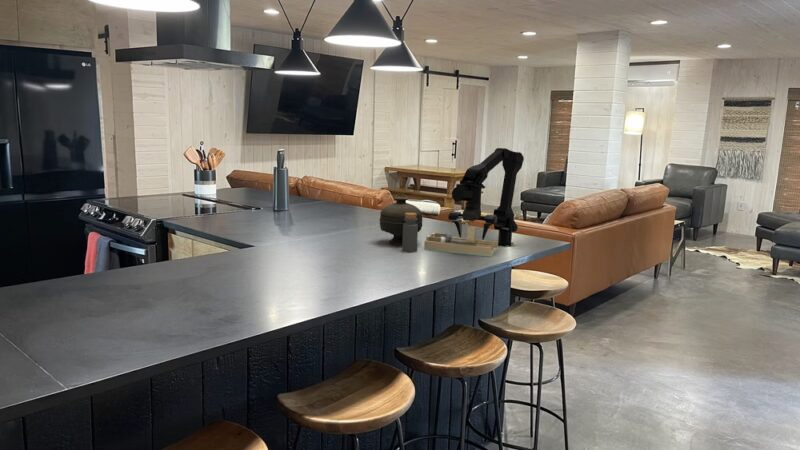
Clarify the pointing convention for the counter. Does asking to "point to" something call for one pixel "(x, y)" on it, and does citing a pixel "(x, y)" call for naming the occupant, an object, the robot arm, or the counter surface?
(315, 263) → the counter surface
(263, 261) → the counter surface
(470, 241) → the tan and grey block
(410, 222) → the bottle
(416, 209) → the pot
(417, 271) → the counter surface
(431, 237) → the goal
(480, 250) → the pitch
